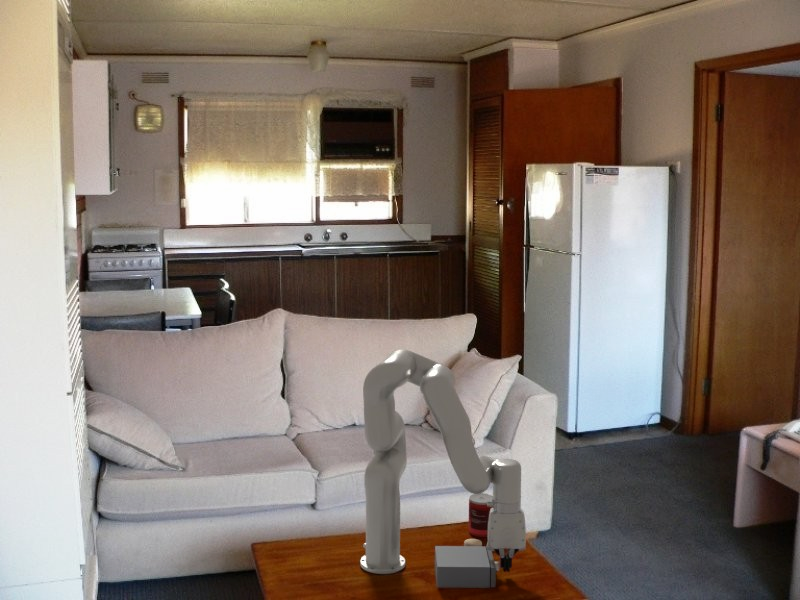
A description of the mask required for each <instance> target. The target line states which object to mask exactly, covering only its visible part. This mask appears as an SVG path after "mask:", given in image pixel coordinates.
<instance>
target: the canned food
mask: <svg viewBox="0 0 800 600" xmlns="http://www.w3.org/2000/svg"><path fill="white" fill-rule="evenodd" d="M492 498H493V495H492V494H489V493H485V492H483V493H480V494H473V493H472V494H470V495H469V499H468V532H469V534H470V535H472V536H473V537H477V538H487V530H488V519H489V514H490V509H491V508H492V507H490V506H487V501H492Z"/></svg>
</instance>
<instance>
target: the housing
mask: <svg viewBox="0 0 800 600" xmlns="http://www.w3.org/2000/svg"><path fill="white" fill-rule="evenodd" d="M434 571H435V582H436V587H437V588H463V589H464V588H468V589H469V588H475V589H476V588H480V589H481V588H484V589H485V588H486V589H487V588H488V589H489V588H491V586H490V564H489V560H488V555H487V551H486V545H484V546H483V545H482V546H464V545H460V546H459V545H434Z"/></svg>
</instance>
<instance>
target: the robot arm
mask: <svg viewBox="0 0 800 600" xmlns="http://www.w3.org/2000/svg"><path fill="white" fill-rule="evenodd" d="M407 382H408V383H410V384H413V385H415V386H418V387H419V389H420V390H419V391H420V394H421V396H422V398H423V400H424V402H425V404H426V406H427V408H428V409H429V412H430V413H431V415H432V417H433V420H434V421H435V423H436V426H437V428H438V430H439V432H440V434H441V438H442V441H443V444H444V446H445V450H446V452H447V455H448V458H449V460H450V464H451V466H452V467H453V470H454V473H455V474H456V476H457V478H458V479H459V482H460V483H461V485H462V488H464V489H465V490H466V491H467V492H468V493H470V494H472V495H473V494H480V493H485V491H487V490H488V489H489V487H490V485H491V484H492V496H493V498H492V501H487V506H490V507H492V508H491V509H490V514H489V519H488V530H487V537H486V538H487V539H486V540H487V543H486V544H485V547H486V548H487V550H491V551H492V552H495V553H496V554H497V555H498V556H499V557H500V559H499V568H500V569H502V571H503V573H506V572H507V573H510V569H511V568H513V558H514V556H515V555H516V554H517V553H518V552H521V551H525V550H526V549H527V530H526V528H527V527H526V517H525V511H524V510H523V508H522V507H521V506H522V465H521V462H519V461H517V460H515V459H512V458H495V457H491V456H486V455H481V454H480V455H478V452H477V450H476V447H475V443H474V440H473V435H472V434H473V433H472V424H471V420H470V417H469V415H468V414H467V411H466V409H465V407H464V405H463V403H462V402H461V399H460V398H459V395H458V393H457V392H456V389H455V385H456V377H455V374H454V373H453V371H452V370H451V369H450V368H449V367H447V366H446V365H444V364H443V363H440V362H437V361H435V360H433V359H430V358H428V357H425V356H423V355H421V354H419V353H416V352H414V351H412V350H408V349H398V350H395V351H392V353H391V354H389V355H388V356H387V357H386V358H385V359H384V360H383V361H381V362H380V363H378V364H376V366H373V368H371V369H370V371H368V373H367V375H366V377H365V378H364V381H363V387H362V392H363V393H362V395H363V418H364V419H363V420H364V437H365V442H366V444H367V447H369V449H371V450H372V451H373V456H372V457H371V459H370V460H369V462H368V463H367V465H366V468H365V470H364V474H363V475H364V477H363V480H364V481H363V483H364V491H365V492H364V493H365V543H363V544H362V546H363V548H364V549H365V554H364V555H363V556H361V558H360V560H359V564H360V567H361V568H362V569H363V571H366V572H367V573H368V572H369V573H372V574H378V575H388V574H389V575H390V574H394V573H397V572H400V571H402V570H403V569H404V568H405V566H406V559H405V557H404V556H402V555H401V543H400V542H401V492H400V481H401V478H402V476H403V474H404V472H405V471H406V468H407V463H408V459H407V458H408V457H407V456H408V455H407V438H406V427H405V421H404V419H403V417H402V416H401V414H400V413H399V412H397V411H396V402H395V395H394V393H395V391H396V390H398V388H401V387H402V386H404V385H406V384H407ZM505 550H507V552H505Z"/></svg>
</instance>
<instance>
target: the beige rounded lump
mask: <svg viewBox="0 0 800 600" xmlns="http://www.w3.org/2000/svg"><path fill="white" fill-rule="evenodd" d="M463 546H483V542H482V540H481V539H476V538H468V539H465V540H464V541H463Z"/></svg>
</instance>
